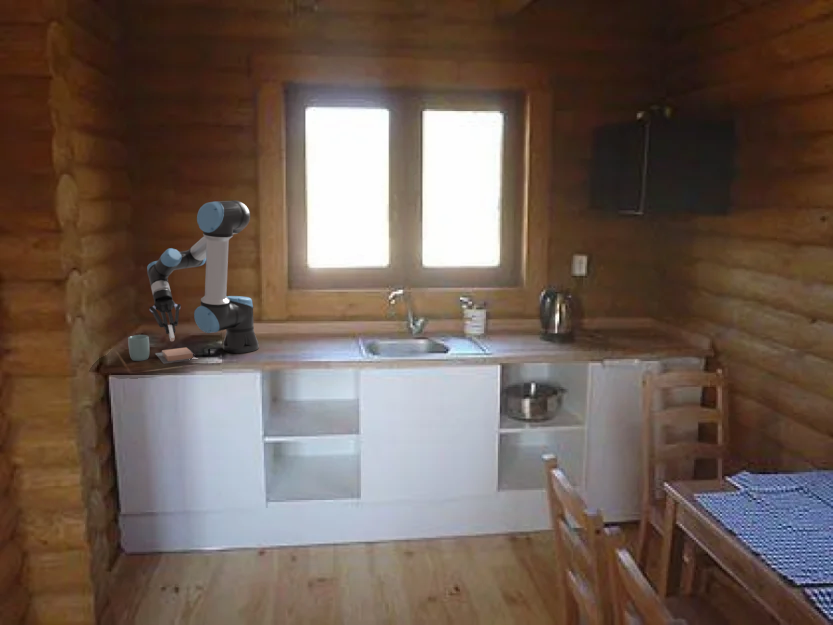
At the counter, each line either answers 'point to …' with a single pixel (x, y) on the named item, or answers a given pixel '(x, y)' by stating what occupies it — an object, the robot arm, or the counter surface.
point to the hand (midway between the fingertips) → (172, 339)
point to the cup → (138, 347)
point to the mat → (166, 360)
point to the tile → (177, 354)
